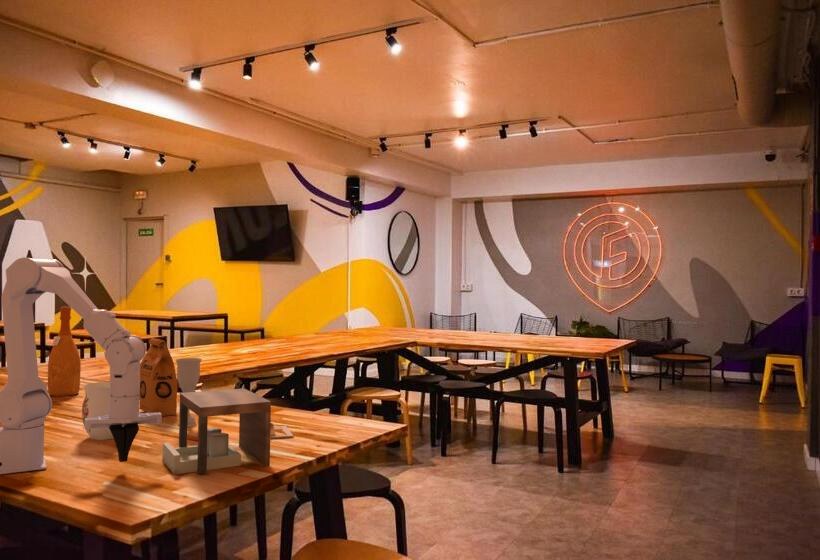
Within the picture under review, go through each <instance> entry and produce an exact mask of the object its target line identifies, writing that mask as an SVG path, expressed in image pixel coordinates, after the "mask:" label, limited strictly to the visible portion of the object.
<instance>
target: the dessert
mask: <svg viewBox="0 0 820 560" xmlns="http://www.w3.org/2000/svg"><path fill="white" fill-rule="evenodd" d="M282 429H283V430H282ZM275 430H282V431H283V432H284V434H285V433H286V434H287V435H286V434H285V435H280V436H279V435H277V436H275V435H276V431H275ZM271 435H272V436H271ZM286 437H289V438H292V437H294V434H293V432H291V430H290V429H289V428H288V426H287V425H275V426H274V423H273V422H271V427H270V440H271V439H272V440H273V438H274V439H284V438H285V439H286Z"/></svg>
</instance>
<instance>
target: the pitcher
mask: <svg viewBox="0 0 820 560" xmlns="http://www.w3.org/2000/svg"><path fill="white" fill-rule="evenodd" d="M83 389H84V395H85V396H84V400H83V402H82V407H81V418H82V424H83V426H84V427H83V428H85V418H93V417H100V416H107V415H109V397H110V381H100V382H99V381H97V382H92V383H91V382H90V383H86V384H84V385H83ZM85 432H86V433H87V435H88V436H89V437H90V439H92V440H95V441H104V440H105V441H107V440H114V438H113V436H112V433H111V431H110V429H109V427H102V428H91V429H88V430H85Z"/></svg>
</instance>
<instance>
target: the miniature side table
mask: <svg viewBox="0 0 820 560" xmlns="http://www.w3.org/2000/svg"><path fill="white" fill-rule="evenodd" d="M188 408H189V409H190V411H191V412H193V413H194V414H196V415H197V416H198V417H197V419H198V421H197V422H198V423H197V427H198V428H197V445H198V464H197V471H196V472H197V476H199V477H200V476H201V477H202V476H207V473H208V472H207V471H208V470H207V428H208V426H209V425H208V424H209V423H208V418H209V417H218V416H229V415H239V420H238V421H239V425H238V427H239V428H238V430H239V432H238V447H239V448H240V449H241V450H242V451H244V452H246V453H247V454H248V455H250V457H252V458H253V459H255V460H256V461H257V462H258V463H260V464H261V465H262V466H263V467H265V468H266V467H270V466H271V465H270V464H271V439H270V437H271V436H270V427H271V423H272V419H271V418H272V417H271V416H272V401H271V400H269V399H266V398H265V397H263V396H260V395H258V394H256V393H255V392H253V391H250V390H248V389H246V388H245V387H243V388H232V389H229V388H228V389H216V390H204V391H203V390H202V391H194V392H187V393H183V392H180V393H179V413H178V415H179V417H178V418H179V420H178V421H179V422H178V424H179V426H178V448H180V447H188V427H187V424H188Z"/></svg>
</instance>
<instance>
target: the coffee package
mask: <svg viewBox="0 0 820 560" xmlns="http://www.w3.org/2000/svg"><path fill="white" fill-rule="evenodd" d="M148 344H149V345H150V347H149V348H148V350H146V353H145V356H144V357H143V359H142V360H140V395H139V410H141V411H143V413H159V412H160V413H161V414H162V417H165V416H174V415H175V416H177V411H178V410H177V409H178V405H177V401H178V400H177V399H178V379H177V372H176V366H175V363H174V360H173V358H172V357H173V356H172V355H171V353H170V350H169V348H168V345H167V343H166V341H165V340H162V339H159V338H154V337H152V338H150V339H149V340H148Z"/></svg>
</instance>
